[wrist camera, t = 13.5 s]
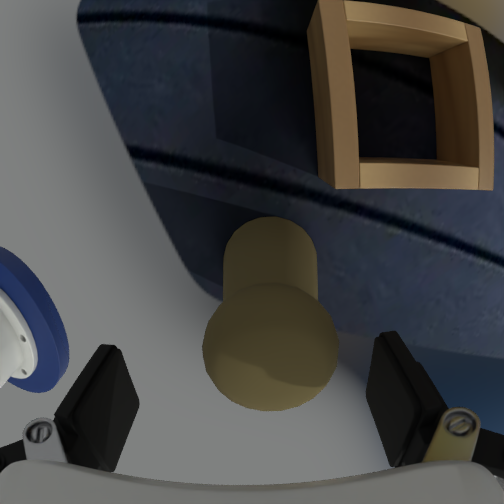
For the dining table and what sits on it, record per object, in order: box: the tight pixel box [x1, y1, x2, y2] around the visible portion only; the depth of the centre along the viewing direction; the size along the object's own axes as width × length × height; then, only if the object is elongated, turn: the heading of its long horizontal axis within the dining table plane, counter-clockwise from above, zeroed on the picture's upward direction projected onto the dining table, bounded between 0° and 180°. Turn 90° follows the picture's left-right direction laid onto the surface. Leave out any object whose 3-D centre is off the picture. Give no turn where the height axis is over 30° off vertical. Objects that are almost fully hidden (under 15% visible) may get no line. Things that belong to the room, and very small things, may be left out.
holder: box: [307, 0, 494, 190], centre depth 14 cm, size 9×9×5 cm
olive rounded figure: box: [202, 217, 339, 411], centre depth 15 cm, size 6×6×11 cm
